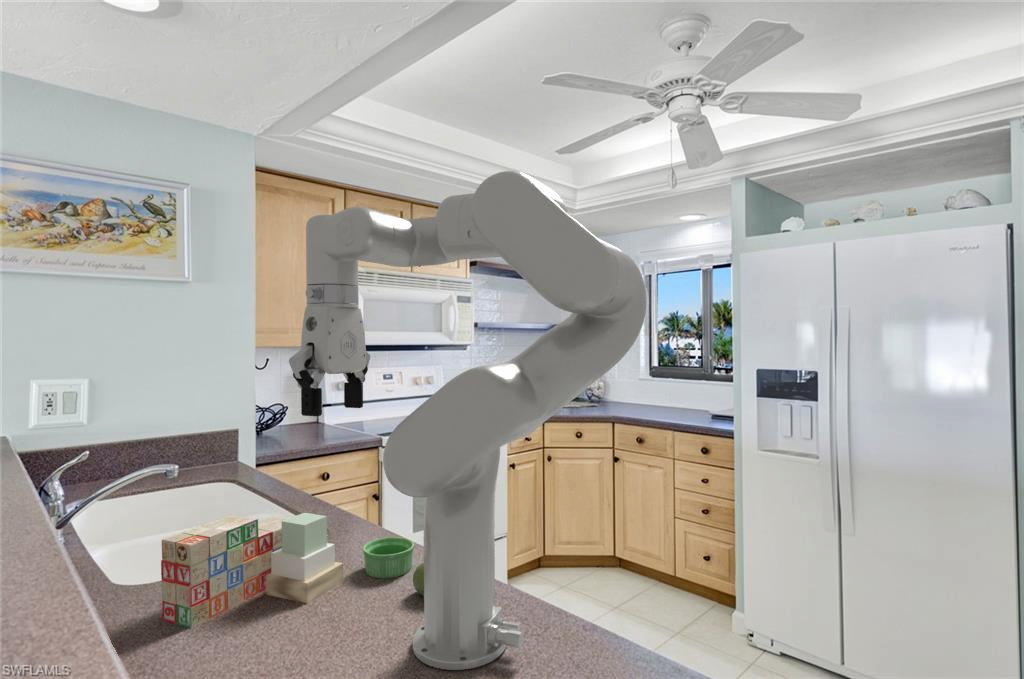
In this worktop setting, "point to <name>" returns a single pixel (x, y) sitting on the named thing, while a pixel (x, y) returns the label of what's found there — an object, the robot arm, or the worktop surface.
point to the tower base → (304, 585)
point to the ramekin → (388, 557)
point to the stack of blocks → (216, 566)
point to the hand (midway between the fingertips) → (333, 411)
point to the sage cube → (304, 534)
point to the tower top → (302, 563)
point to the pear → (419, 579)
